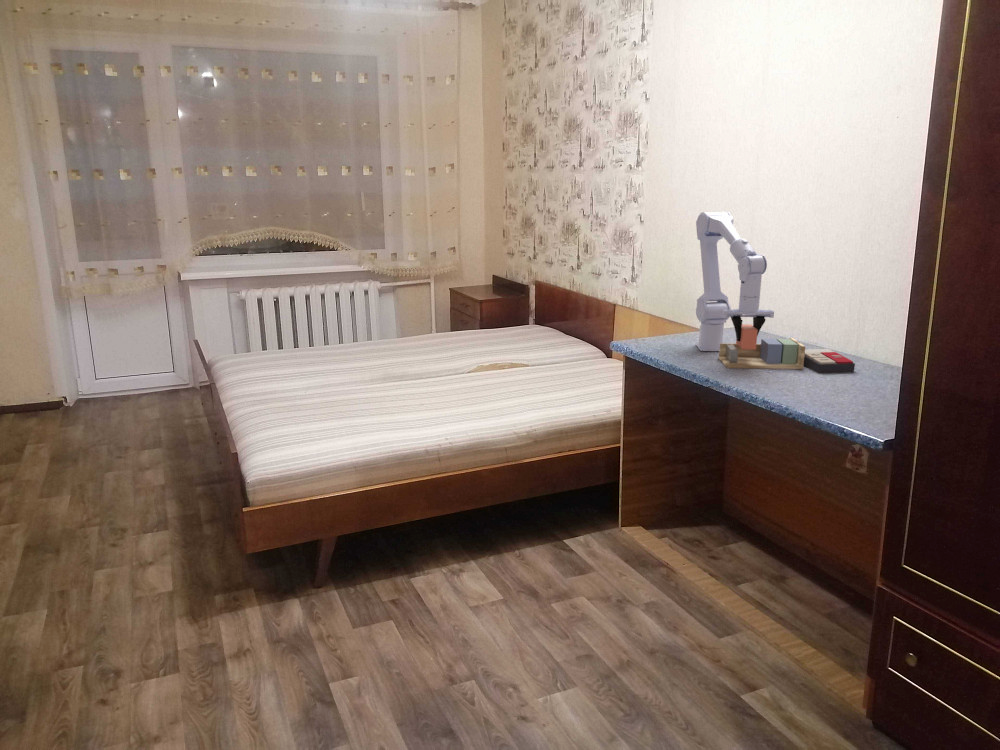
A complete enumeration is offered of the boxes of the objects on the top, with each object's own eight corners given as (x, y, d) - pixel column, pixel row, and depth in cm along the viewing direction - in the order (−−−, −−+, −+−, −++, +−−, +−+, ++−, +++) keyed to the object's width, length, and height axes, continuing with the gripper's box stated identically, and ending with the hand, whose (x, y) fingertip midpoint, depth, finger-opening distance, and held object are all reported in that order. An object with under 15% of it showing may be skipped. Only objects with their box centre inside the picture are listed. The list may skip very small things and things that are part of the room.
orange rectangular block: (736, 343, 231) (737, 324, 230) (749, 343, 231) (751, 324, 230) (742, 349, 224) (743, 329, 222) (755, 349, 223) (757, 329, 222)
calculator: (819, 362, 216) (795, 347, 230) (817, 376, 218) (793, 361, 232) (856, 361, 217) (829, 347, 231) (853, 375, 219) (827, 360, 233)
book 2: (759, 357, 232) (761, 338, 231) (773, 357, 232) (774, 338, 230) (766, 363, 225) (768, 344, 223) (780, 364, 224) (782, 344, 223)
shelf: (718, 358, 235) (720, 337, 233) (791, 359, 233) (793, 337, 231) (727, 367, 223) (728, 345, 221) (803, 369, 222) (805, 346, 220)
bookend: (725, 357, 233) (726, 344, 232) (731, 357, 232) (732, 344, 231) (730, 362, 226) (731, 349, 225) (737, 362, 226) (738, 349, 225)
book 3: (774, 357, 232) (776, 338, 230) (788, 357, 232) (789, 338, 230) (782, 364, 224) (784, 344, 223) (795, 364, 224) (797, 344, 222)
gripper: (727, 297, 220) (724, 343, 224) (778, 298, 219) (774, 343, 223) (722, 294, 227) (719, 338, 231) (771, 294, 226) (767, 338, 230)
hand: (746, 340), depth 227 cm, fingers closed on orange rectangular block, 4 cm apart
